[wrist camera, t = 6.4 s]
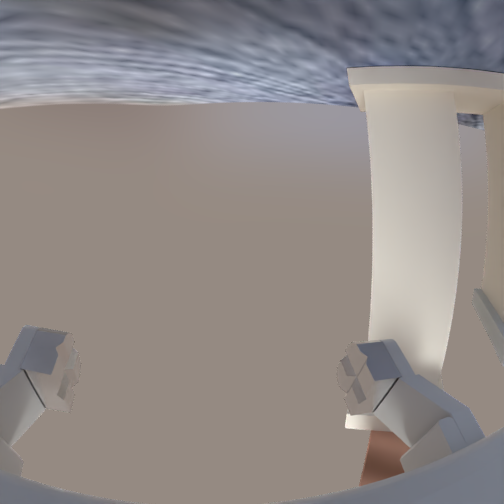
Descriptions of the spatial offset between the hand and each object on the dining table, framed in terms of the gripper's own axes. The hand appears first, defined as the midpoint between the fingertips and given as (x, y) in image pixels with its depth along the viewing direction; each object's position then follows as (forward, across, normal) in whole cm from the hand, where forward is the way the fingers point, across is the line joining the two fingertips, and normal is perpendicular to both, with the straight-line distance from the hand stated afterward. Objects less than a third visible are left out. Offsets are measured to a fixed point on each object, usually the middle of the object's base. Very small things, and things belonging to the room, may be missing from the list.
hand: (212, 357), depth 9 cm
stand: (+17, -22, -13) cm, 31 cm away
